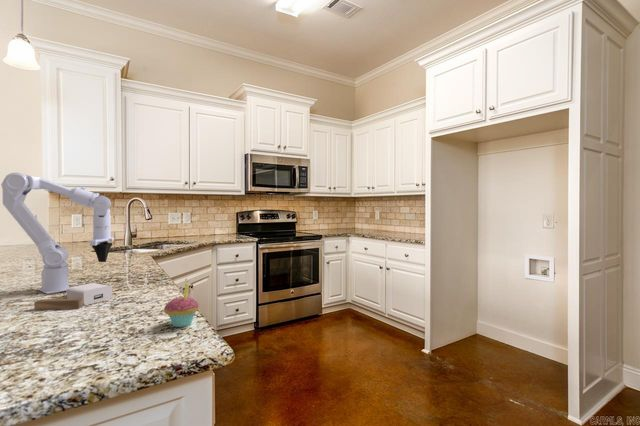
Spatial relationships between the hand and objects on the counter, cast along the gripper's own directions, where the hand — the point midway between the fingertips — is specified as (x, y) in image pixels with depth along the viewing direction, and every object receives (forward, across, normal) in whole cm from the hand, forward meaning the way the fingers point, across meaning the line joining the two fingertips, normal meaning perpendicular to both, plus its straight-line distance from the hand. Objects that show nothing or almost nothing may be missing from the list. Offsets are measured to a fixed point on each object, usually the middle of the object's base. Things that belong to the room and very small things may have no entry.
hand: (102, 261), depth 130 cm
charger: (+10, -18, -2) cm, 21 cm away
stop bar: (+9, -28, 0) cm, 29 cm away
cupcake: (+10, -47, -40) cm, 63 cm away
